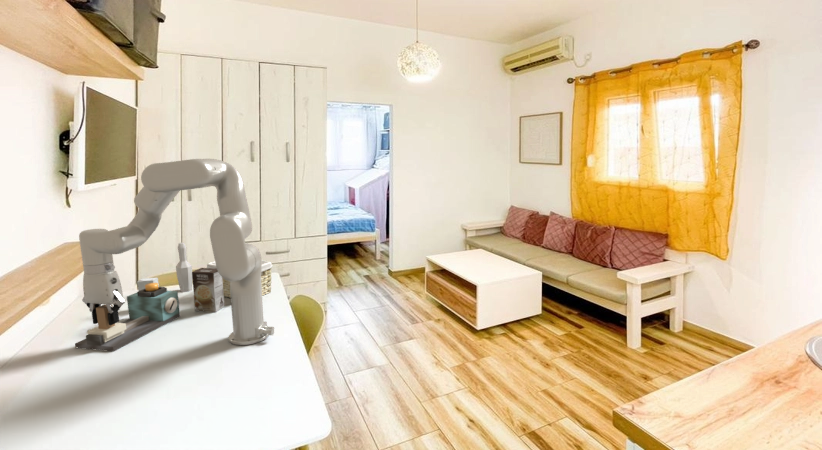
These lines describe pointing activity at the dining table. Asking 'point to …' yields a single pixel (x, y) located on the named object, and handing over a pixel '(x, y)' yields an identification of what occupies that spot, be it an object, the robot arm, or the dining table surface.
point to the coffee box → (208, 290)
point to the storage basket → (264, 278)
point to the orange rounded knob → (151, 287)
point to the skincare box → (146, 282)
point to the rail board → (129, 337)
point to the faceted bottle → (184, 270)
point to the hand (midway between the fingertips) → (106, 322)
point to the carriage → (106, 325)
